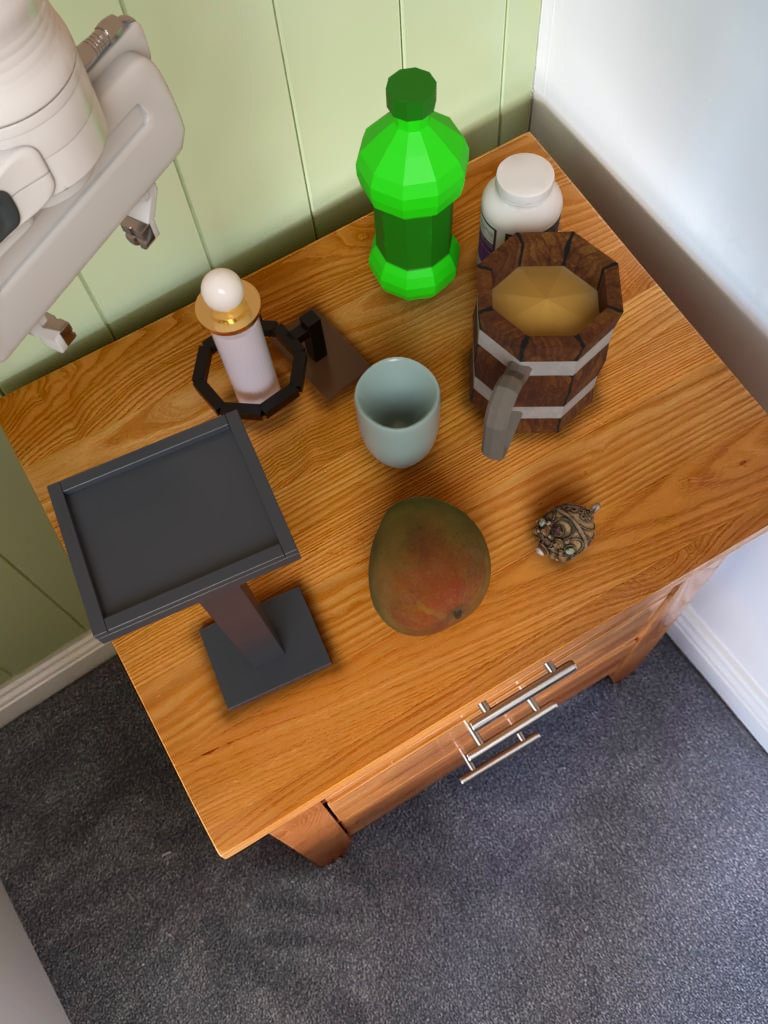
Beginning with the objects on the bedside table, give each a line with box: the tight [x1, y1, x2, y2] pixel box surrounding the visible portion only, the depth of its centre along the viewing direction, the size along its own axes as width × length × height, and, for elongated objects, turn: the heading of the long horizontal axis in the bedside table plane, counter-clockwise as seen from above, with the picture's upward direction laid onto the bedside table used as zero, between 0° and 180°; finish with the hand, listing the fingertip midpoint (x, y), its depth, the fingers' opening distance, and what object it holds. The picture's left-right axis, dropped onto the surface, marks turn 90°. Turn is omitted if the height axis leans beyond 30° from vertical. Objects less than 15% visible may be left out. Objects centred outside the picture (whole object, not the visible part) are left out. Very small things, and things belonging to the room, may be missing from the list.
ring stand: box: [191, 307, 372, 422], centre depth 84 cm, size 16×11×7 cm, turn 129°
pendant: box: [531, 501, 601, 563], centre depth 77 cm, size 5×8×5 cm, turn 129°
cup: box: [353, 356, 442, 469], centre depth 80 cm, size 8×8×10 cm
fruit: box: [367, 495, 492, 637], centre depth 74 cm, size 12×13×10 cm
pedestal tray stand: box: [46, 410, 333, 712], centre depth 62 cm, size 12×10×32 cm
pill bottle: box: [476, 152, 564, 266], centre depth 85 cm, size 8×8×14 cm
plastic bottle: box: [355, 66, 470, 302], centre depth 81 cm, size 10×10×25 cm
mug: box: [468, 230, 625, 462], centre depth 79 cm, size 20×14×15 cm
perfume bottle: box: [194, 267, 282, 404], centre depth 78 cm, size 6×6×20 cm
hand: (104, 289), depth 56 cm, fingers open, 8 cm apart
